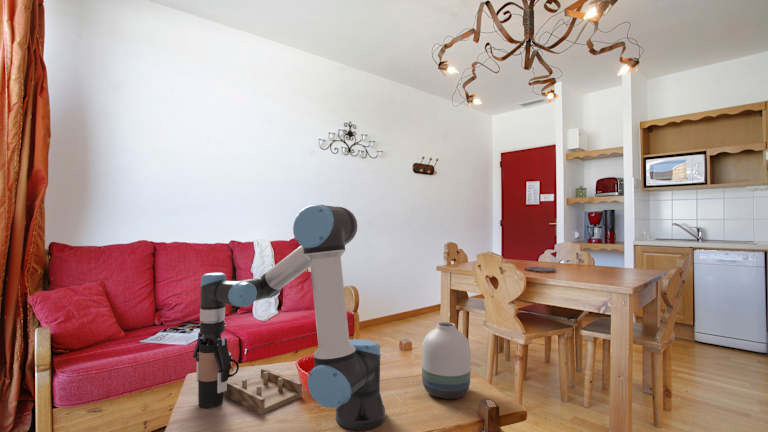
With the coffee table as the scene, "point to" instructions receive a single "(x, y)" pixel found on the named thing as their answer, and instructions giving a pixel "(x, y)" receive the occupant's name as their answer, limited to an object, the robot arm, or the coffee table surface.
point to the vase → (446, 362)
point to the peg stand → (264, 391)
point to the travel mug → (208, 378)
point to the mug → (229, 370)
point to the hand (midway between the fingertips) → (211, 385)
